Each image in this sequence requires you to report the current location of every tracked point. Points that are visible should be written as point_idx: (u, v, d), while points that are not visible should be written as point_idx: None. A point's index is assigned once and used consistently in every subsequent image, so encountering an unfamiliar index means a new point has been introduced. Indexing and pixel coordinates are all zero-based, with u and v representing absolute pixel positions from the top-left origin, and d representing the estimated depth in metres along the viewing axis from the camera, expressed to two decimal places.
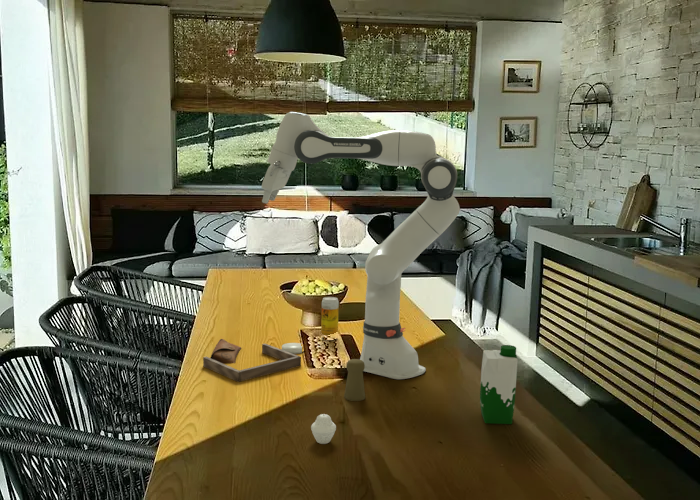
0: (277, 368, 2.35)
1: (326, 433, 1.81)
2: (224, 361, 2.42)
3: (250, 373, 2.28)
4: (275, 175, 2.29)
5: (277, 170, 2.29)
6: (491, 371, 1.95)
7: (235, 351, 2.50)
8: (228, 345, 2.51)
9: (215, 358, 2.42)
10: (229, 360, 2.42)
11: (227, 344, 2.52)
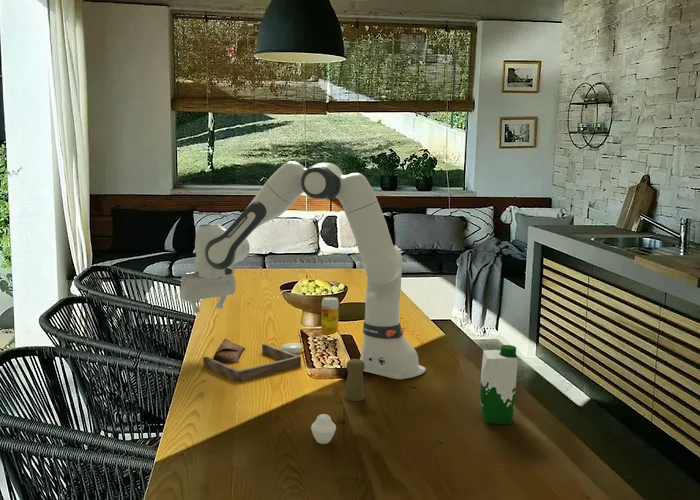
0: (277, 368, 2.35)
1: (326, 433, 1.81)
2: (227, 361, 2.42)
3: (250, 373, 2.28)
4: (185, 285, 2.46)
5: (187, 280, 2.47)
6: (491, 371, 1.95)
7: (238, 351, 2.50)
8: (232, 345, 2.51)
9: (218, 358, 2.42)
10: (231, 361, 2.42)
11: (231, 344, 2.51)
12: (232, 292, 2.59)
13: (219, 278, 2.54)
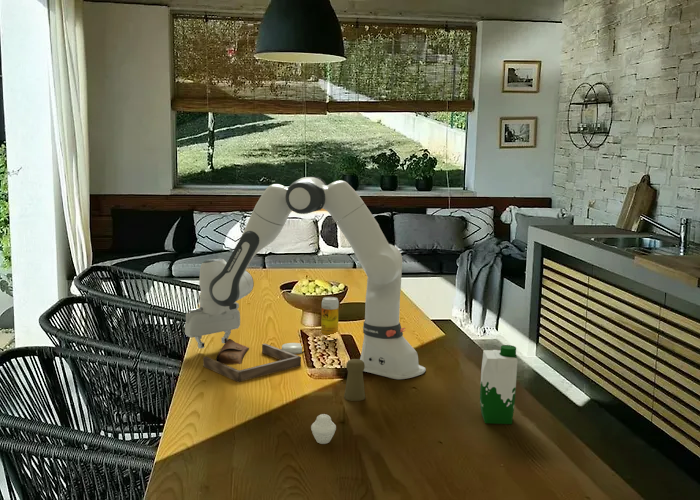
0: (277, 368, 2.35)
1: (326, 433, 1.81)
2: (230, 361, 2.42)
3: (250, 373, 2.28)
4: (190, 322, 2.47)
5: (192, 317, 2.47)
6: (491, 371, 1.95)
7: (242, 351, 2.49)
8: (235, 345, 2.51)
9: (221, 358, 2.41)
10: (235, 361, 2.42)
11: (234, 344, 2.51)
12: (237, 326, 2.60)
13: (224, 313, 2.55)
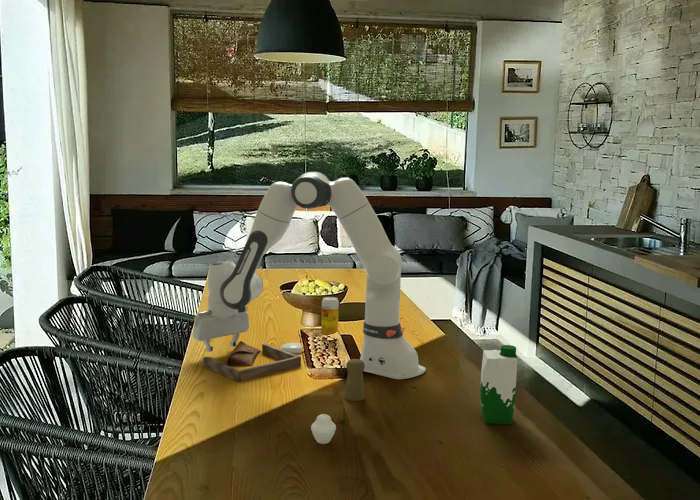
0: (277, 368, 2.35)
1: (326, 433, 1.81)
2: (241, 364, 2.40)
3: (250, 373, 2.28)
4: (198, 325, 2.43)
5: (200, 320, 2.43)
6: (491, 371, 1.95)
7: (253, 354, 2.47)
8: (247, 348, 2.49)
9: (232, 361, 2.39)
10: (246, 363, 2.40)
11: (246, 347, 2.49)
12: (245, 329, 2.56)
13: (232, 316, 2.51)
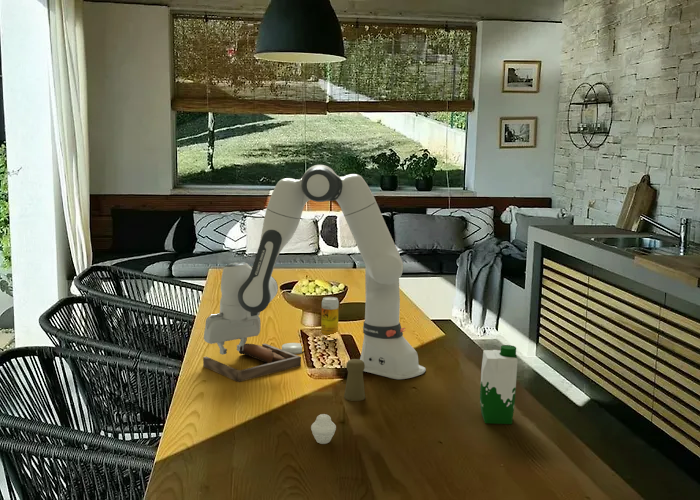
0: (277, 368, 2.35)
1: (326, 433, 1.81)
2: None
3: (250, 373, 2.28)
4: (210, 327, 2.36)
5: (212, 322, 2.37)
6: (491, 371, 1.95)
7: None
8: (264, 347, 2.47)
9: (275, 360, 2.39)
10: None
11: (262, 347, 2.47)
12: (257, 333, 2.50)
13: (244, 319, 2.44)
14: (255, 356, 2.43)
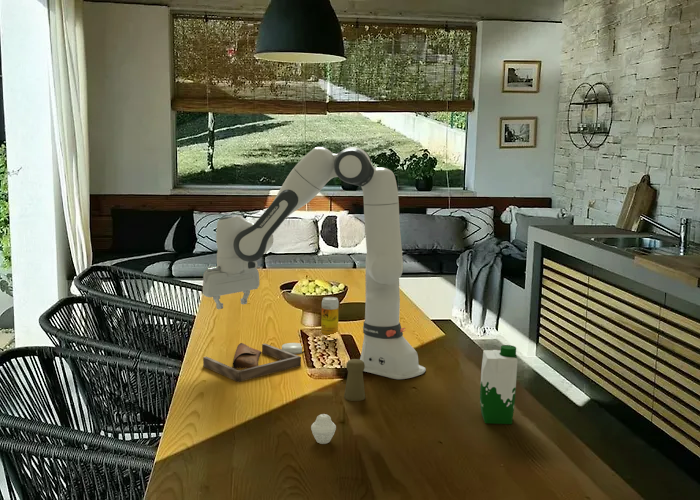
0: (277, 368, 2.35)
1: (326, 433, 1.81)
2: (247, 366, 2.38)
3: (250, 373, 2.28)
4: (208, 281, 2.37)
5: (209, 276, 2.37)
6: (491, 371, 1.95)
7: (256, 355, 2.46)
8: (249, 349, 2.47)
9: (238, 363, 2.37)
10: (252, 365, 2.38)
11: (248, 348, 2.47)
12: (256, 286, 2.49)
13: (242, 272, 2.44)
14: None
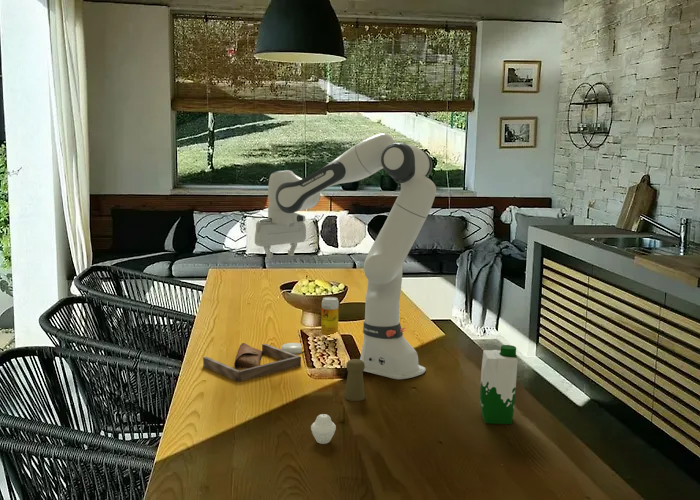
0: (277, 368, 2.35)
1: (326, 433, 1.81)
2: (249, 366, 2.38)
3: (250, 373, 2.28)
4: (260, 231, 2.52)
5: (262, 226, 2.52)
6: (491, 371, 1.95)
7: (258, 356, 2.46)
8: (251, 349, 2.47)
9: (240, 363, 2.37)
10: (253, 365, 2.38)
11: (250, 349, 2.47)
12: (303, 239, 2.65)
13: (291, 225, 2.60)
14: None
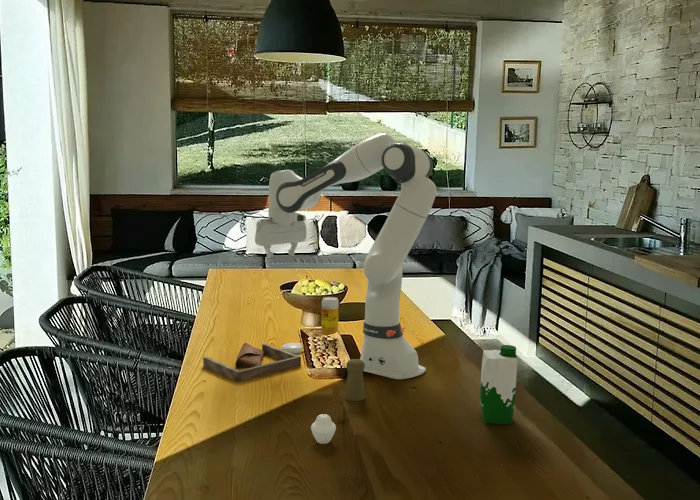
0: (277, 368, 2.35)
1: (326, 433, 1.81)
2: (250, 366, 2.38)
3: (250, 373, 2.28)
4: (261, 230, 2.52)
5: (262, 225, 2.52)
6: (491, 371, 1.95)
7: (260, 356, 2.46)
8: (253, 349, 2.47)
9: (241, 363, 2.37)
10: (254, 366, 2.38)
11: (252, 349, 2.47)
12: (303, 239, 2.65)
13: (292, 224, 2.60)
14: None
